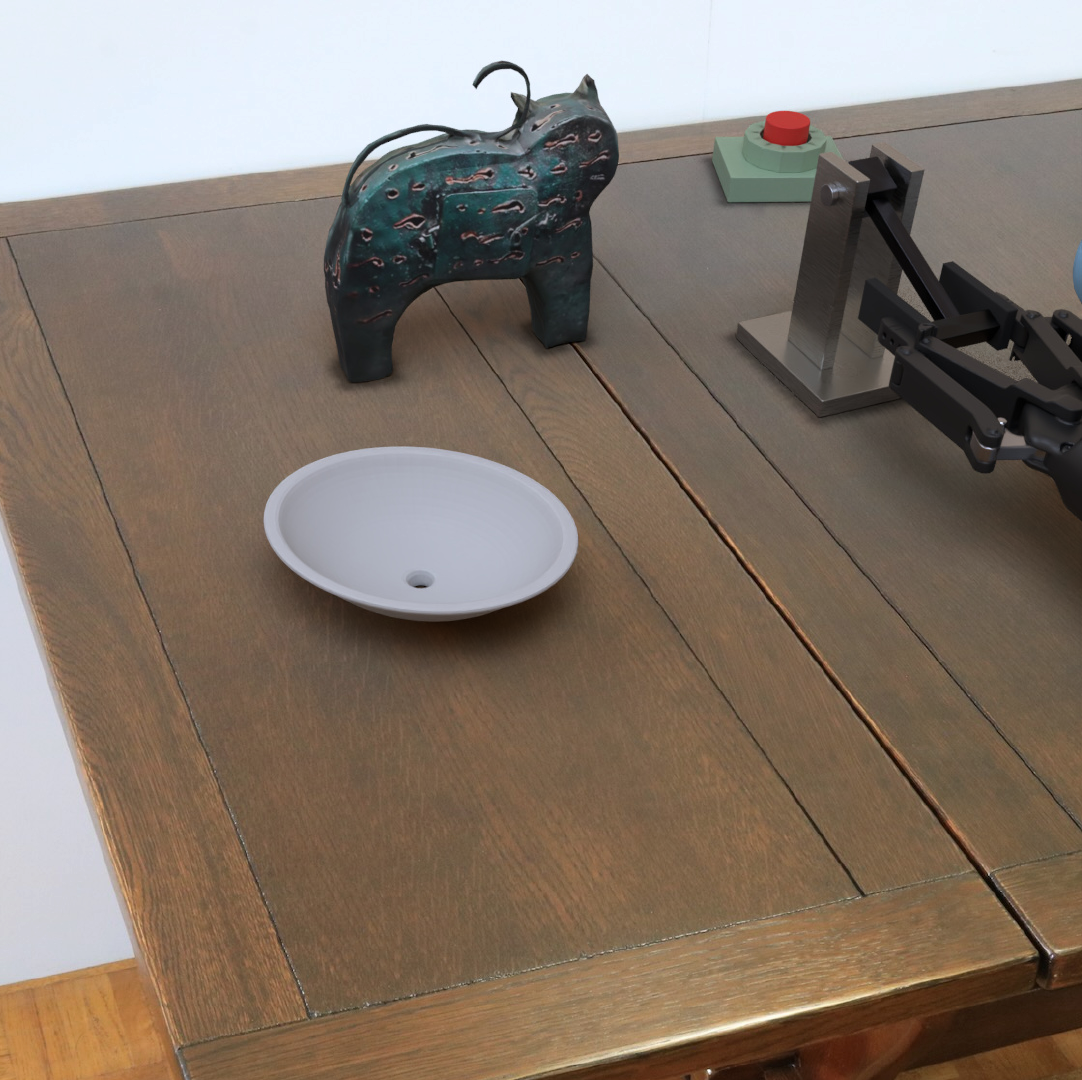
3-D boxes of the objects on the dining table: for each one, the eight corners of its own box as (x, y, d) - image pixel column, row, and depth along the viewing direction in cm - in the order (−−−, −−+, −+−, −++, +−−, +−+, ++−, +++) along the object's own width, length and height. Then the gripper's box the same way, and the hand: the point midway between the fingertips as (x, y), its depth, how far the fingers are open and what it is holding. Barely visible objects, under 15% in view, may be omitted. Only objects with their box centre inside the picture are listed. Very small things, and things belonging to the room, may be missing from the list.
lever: (986, 346, 94) (1004, 321, 92) (918, 361, 92) (935, 336, 90) (881, 179, 99) (896, 152, 97) (816, 191, 98) (829, 164, 96)
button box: (827, 160, 131) (835, 115, 128) (848, 201, 125) (857, 155, 122) (711, 161, 130) (717, 115, 128) (727, 202, 124) (733, 156, 122)
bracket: (932, 391, 103) (983, 185, 93) (819, 418, 100) (859, 209, 91) (843, 314, 111) (881, 117, 101) (735, 337, 108) (764, 137, 98)
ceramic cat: (583, 307, 111) (602, 32, 98) (620, 351, 106) (645, 68, 93) (321, 354, 106) (304, 69, 93) (348, 402, 101) (334, 109, 88)
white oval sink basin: (223, 633, 84) (214, 563, 80) (331, 489, 94) (327, 421, 90) (526, 714, 79) (530, 643, 76) (605, 554, 89) (611, 485, 86)
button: (802, 130, 127) (805, 110, 125) (811, 148, 124) (814, 128, 123) (759, 130, 126) (762, 110, 125) (767, 149, 124) (770, 128, 123)
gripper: (1005, 589, 79) (772, 369, 96) (1271, 511, 85) (1008, 315, 101) (1041, 472, 74) (790, 261, 91) (1322, 397, 80) (1037, 210, 96)
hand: (905, 290), depth 96 cm, fingers closed on lever, 5 cm apart
